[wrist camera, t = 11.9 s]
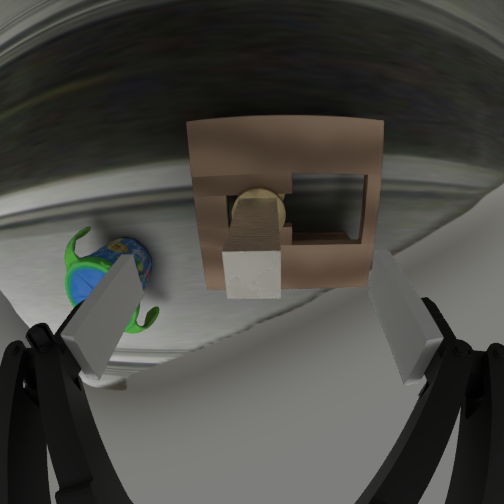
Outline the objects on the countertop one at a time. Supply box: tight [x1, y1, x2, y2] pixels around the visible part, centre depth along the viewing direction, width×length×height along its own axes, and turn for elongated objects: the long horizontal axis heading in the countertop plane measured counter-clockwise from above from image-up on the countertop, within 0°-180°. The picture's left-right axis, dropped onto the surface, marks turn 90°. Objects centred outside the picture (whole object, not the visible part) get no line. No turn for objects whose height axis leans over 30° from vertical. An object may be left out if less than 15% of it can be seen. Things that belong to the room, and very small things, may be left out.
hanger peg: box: [222, 186, 286, 299], centre depth 23 cm, size 5×5×17 cm
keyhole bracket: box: [186, 114, 384, 290], centre depth 28 cm, size 16×16×10 cm
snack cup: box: [65, 227, 159, 333], centre depth 34 cm, size 16×10×10 cm
